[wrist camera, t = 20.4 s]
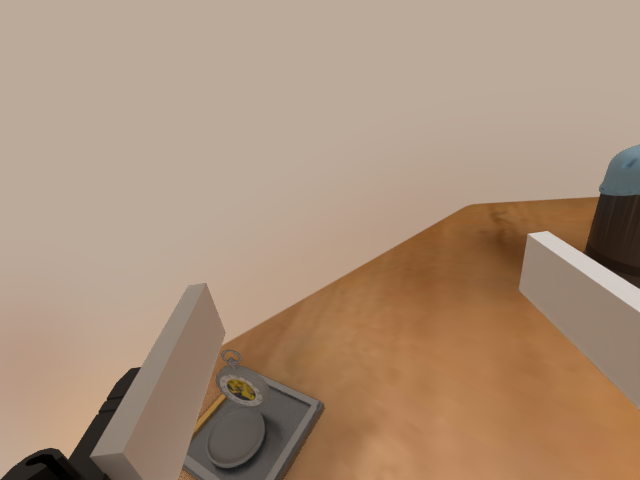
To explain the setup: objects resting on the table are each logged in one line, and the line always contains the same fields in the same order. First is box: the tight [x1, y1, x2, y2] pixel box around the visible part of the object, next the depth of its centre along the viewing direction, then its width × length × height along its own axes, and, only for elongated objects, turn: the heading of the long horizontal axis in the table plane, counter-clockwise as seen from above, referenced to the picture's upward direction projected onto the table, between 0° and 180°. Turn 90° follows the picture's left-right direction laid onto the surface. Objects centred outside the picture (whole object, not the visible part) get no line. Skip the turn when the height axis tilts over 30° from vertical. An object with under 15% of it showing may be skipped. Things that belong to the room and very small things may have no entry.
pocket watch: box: [206, 350, 270, 468], centre depth 35 cm, size 8×8×10 cm
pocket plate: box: [182, 372, 325, 480], centre depth 37 cm, size 13×13×1 cm
